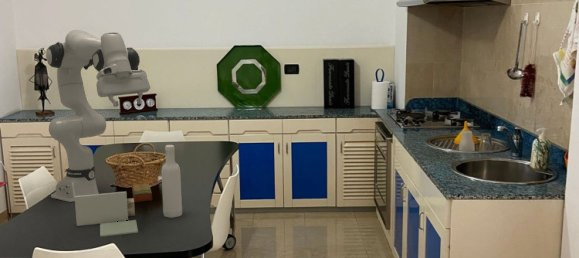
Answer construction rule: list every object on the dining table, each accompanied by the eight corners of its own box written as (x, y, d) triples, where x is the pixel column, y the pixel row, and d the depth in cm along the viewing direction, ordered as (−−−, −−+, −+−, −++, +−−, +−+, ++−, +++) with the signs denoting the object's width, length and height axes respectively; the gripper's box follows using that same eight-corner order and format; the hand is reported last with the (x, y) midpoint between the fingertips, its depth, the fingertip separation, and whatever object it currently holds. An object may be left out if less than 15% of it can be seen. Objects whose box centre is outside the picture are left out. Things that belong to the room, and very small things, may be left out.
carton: (149, 191, 284) (149, 183, 283) (152, 201, 269) (152, 192, 268) (132, 193, 281) (131, 184, 281) (134, 202, 266) (133, 193, 265)
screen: (76, 225, 235) (74, 197, 233) (77, 224, 237) (74, 196, 234) (128, 220, 241) (126, 192, 239) (128, 219, 243) (126, 191, 240)
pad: (100, 236, 223) (100, 235, 222) (100, 225, 236) (100, 223, 236) (137, 232, 227) (137, 231, 227) (135, 221, 240) (135, 219, 240)
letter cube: (120, 217, 246) (119, 203, 245) (119, 212, 251) (118, 199, 250) (134, 215, 247) (134, 201, 246) (134, 211, 253) (133, 197, 252)
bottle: (173, 210, 253) (170, 142, 248) (186, 213, 249) (183, 145, 243) (159, 215, 247) (155, 146, 241) (172, 219, 242) (169, 148, 237)
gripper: (142, 72, 236) (150, 104, 234) (92, 76, 225) (100, 110, 222) (147, 66, 231) (156, 99, 229) (96, 70, 219) (104, 105, 217)
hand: (128, 104), depth 226 cm, fingers open, 8 cm apart
